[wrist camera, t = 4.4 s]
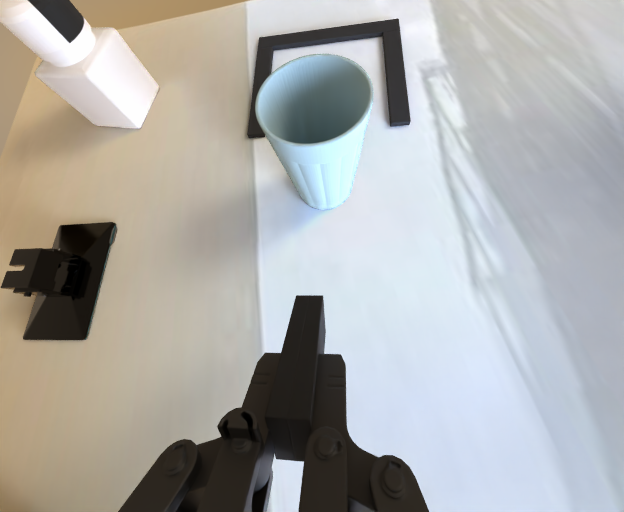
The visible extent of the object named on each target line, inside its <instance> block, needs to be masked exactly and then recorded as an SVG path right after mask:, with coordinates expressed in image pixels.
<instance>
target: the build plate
mask: <svg viewBox="0 0 624 512" xmlns="http://www.w3.org/2000/svg"><path fill="white" fill-rule="evenodd" d="M116 232H117V227H116V224H115V223H113V222H108V223H91V224H74V225H61V226H59V229H58V232H57V235H56V238H55V241H54V244H53V247H52V249H42V248H36V249H15V251H14V253H13V256H12V259H11V261H10V264H9V265H10V266H15V267H16V266H25V267H24V269H23V270H22V271H7V272H6V275H5V277H4V280H3V283H2V286H1V288H4V289H12V290H14V291H13V293H19V294H24V296H26V297H31V295H35V296H36V299H35V302H34V305H33V308H32V311H31V314H30V317H29V321H28V324H27V327H26V330H25V333H24V336H23V339H24V340H86V339H87V338H88V334H89V330H90V326H91V322H92V318H93V314H94V311H95V307H96V303H97V299H98V295H99V291H100V287H101V283H102V279H103V275H104V271H105V267H106V263H107V259H108V255H109V251H110V247H111V245H112V244H113V243H114V240H115V236H116Z"/></svg>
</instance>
